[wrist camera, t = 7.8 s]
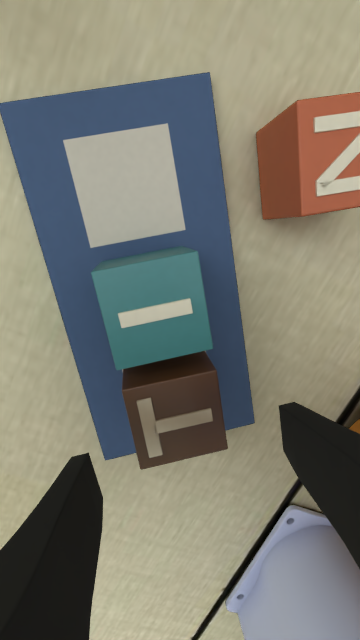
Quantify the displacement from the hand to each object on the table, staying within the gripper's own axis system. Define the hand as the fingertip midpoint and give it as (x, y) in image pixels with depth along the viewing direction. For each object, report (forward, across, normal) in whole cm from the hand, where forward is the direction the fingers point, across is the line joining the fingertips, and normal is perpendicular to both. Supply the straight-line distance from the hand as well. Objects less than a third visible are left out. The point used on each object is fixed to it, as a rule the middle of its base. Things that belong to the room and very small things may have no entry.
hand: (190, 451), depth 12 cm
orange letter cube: (+6, -8, -9) cm, 14 cm away
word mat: (+6, 0, -5) cm, 8 cm away
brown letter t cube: (+6, 0, 0) cm, 6 cm away
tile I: (+6, 0, -5) cm, 8 cm away
